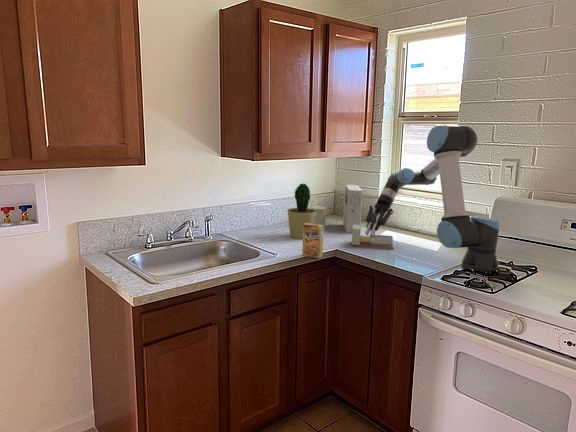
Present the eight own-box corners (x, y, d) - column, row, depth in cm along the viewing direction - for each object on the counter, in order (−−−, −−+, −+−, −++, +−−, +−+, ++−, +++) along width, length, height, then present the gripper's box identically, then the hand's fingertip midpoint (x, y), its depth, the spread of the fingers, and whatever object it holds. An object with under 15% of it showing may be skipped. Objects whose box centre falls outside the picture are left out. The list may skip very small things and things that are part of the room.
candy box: (301, 255, 213) (303, 224, 210) (305, 253, 217) (306, 222, 214) (319, 258, 210) (321, 226, 207) (322, 256, 214) (324, 224, 211)
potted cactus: (298, 231, 260) (300, 179, 253) (320, 236, 250) (322, 182, 244) (280, 236, 248) (282, 182, 242) (303, 241, 238) (305, 185, 232)
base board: (393, 249, 229) (393, 247, 229) (351, 246, 232) (351, 244, 232) (392, 244, 239) (392, 242, 239) (351, 241, 242) (352, 239, 242)
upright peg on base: (376, 242, 234) (378, 214, 231) (354, 241, 235) (356, 212, 232) (376, 241, 236) (378, 213, 233) (354, 240, 238) (356, 211, 235)
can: (328, 225, 277) (329, 206, 275) (321, 228, 270) (322, 208, 267) (314, 223, 282) (315, 204, 280) (307, 226, 275) (308, 206, 272)
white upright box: (359, 233, 261) (362, 190, 255) (346, 233, 261) (349, 189, 256) (355, 225, 282) (357, 185, 277) (342, 224, 282) (345, 184, 277)
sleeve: (392, 245, 232) (392, 238, 231) (370, 244, 233) (370, 236, 233) (391, 243, 236) (392, 235, 235) (370, 241, 238) (370, 234, 237)
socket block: (359, 244, 231) (360, 229, 230) (351, 244, 232) (352, 229, 230) (359, 239, 241) (360, 225, 240) (352, 239, 242) (352, 224, 240)
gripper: (401, 204, 239) (384, 241, 229) (375, 201, 248) (358, 235, 239) (398, 195, 233) (380, 232, 224) (371, 192, 243) (353, 227, 233)
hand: (369, 234), depth 231 cm, fingers closed on upright peg on base, 2 cm apart
